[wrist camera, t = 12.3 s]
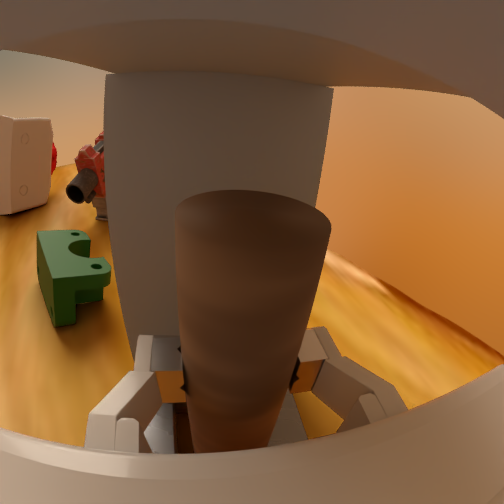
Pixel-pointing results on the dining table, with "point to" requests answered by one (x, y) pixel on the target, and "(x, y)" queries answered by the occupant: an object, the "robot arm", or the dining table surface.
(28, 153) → the electrical switch box
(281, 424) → the socket
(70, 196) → the toy gun
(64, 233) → the clamp
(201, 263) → the peg
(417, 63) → the gray cantilever bracket
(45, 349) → the dining table surface
